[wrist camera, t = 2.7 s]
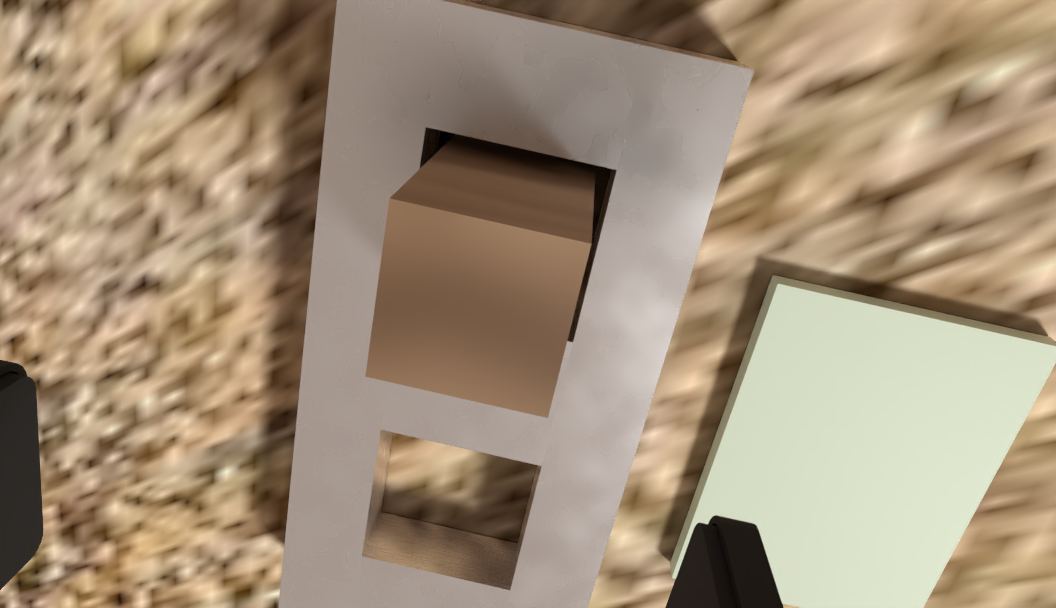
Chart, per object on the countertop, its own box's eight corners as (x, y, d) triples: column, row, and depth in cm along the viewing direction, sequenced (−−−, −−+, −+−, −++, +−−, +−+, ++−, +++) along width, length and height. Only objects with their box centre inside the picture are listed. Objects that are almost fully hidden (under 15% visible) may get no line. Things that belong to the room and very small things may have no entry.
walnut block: (456, 132, 24) (389, 198, 16) (596, 164, 23) (591, 244, 16) (435, 263, 25) (365, 376, 18) (564, 292, 25) (548, 418, 18)
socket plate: (366, -22, 22) (339, -23, 20) (738, 61, 22) (754, 69, 20) (303, 561, 31) (278, 607, 28) (569, 622, 31) (566, 673, 28)
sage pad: (772, 274, 24) (777, 283, 24) (1049, 337, 24) (1063, 348, 23) (669, 562, 29) (671, 577, 28) (901, 615, 29) (909, 632, 28)
